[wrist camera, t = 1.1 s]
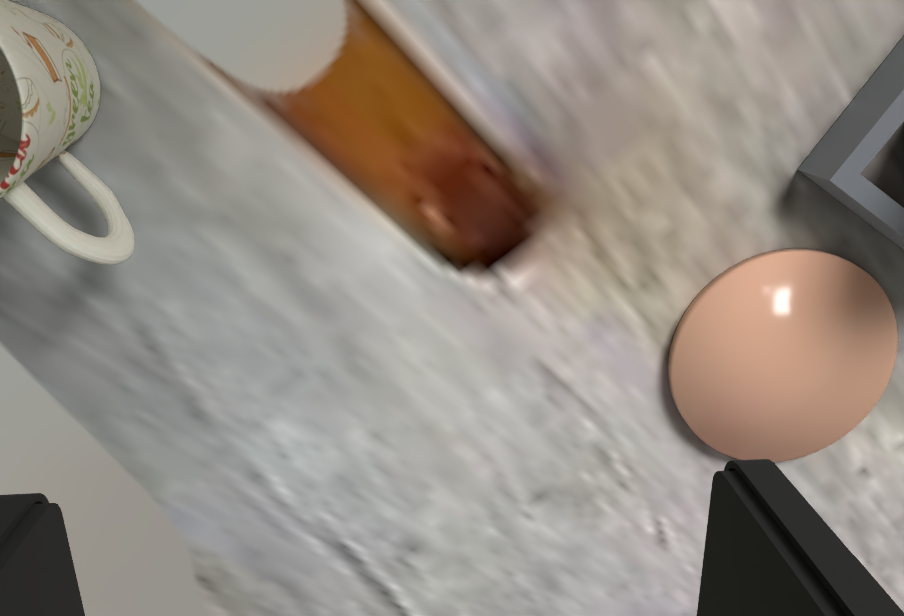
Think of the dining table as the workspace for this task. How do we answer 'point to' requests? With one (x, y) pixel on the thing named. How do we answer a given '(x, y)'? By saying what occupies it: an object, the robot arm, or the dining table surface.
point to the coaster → (782, 354)
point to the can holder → (864, 148)
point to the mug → (51, 128)
